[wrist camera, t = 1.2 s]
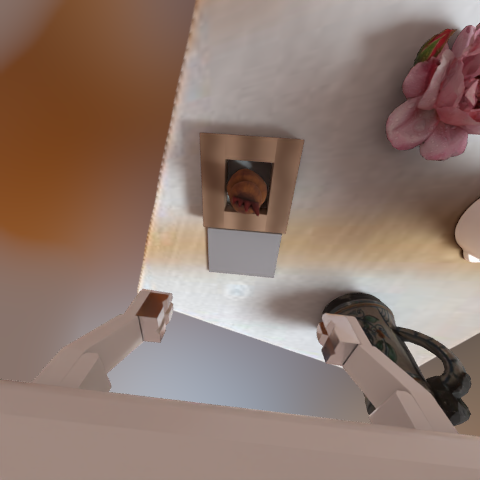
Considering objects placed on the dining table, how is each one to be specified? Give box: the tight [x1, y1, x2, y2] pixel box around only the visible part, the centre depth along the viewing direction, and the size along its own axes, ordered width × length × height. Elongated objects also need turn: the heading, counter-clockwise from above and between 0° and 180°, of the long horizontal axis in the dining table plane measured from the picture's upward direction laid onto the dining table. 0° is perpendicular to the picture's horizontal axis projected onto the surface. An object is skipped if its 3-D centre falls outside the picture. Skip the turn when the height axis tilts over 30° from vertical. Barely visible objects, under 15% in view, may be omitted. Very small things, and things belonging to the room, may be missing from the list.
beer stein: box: [323, 293, 471, 426], centre depth 39 cm, size 16×19×25 cm
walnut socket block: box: [200, 133, 304, 234], centre depth 34 cm, size 16×16×4 cm
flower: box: [386, 23, 480, 161], centre depth 24 cm, size 15×15×10 cm
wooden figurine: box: [227, 168, 267, 216], centre depth 30 cm, size 7×6×15 cm
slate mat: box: [208, 227, 282, 278], centre depth 44 cm, size 16×12×1 cm
